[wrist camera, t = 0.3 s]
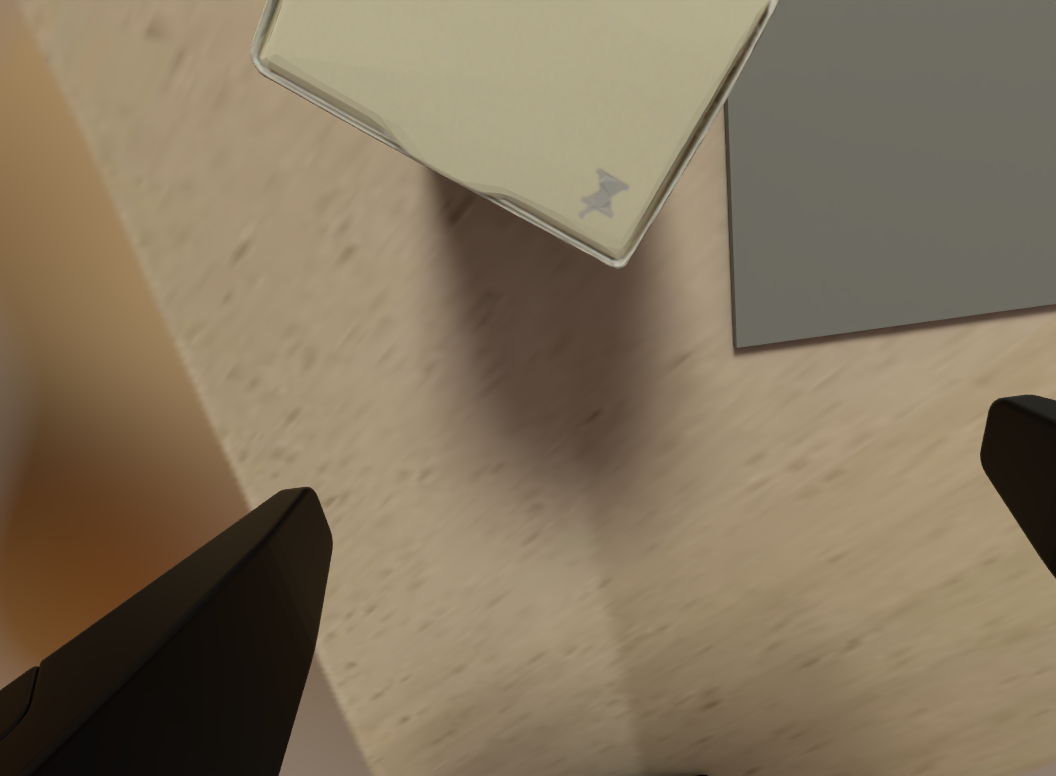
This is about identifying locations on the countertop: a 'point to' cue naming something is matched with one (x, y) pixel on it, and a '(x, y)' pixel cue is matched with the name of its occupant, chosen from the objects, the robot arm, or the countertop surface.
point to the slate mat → (892, 166)
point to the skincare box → (526, 95)
